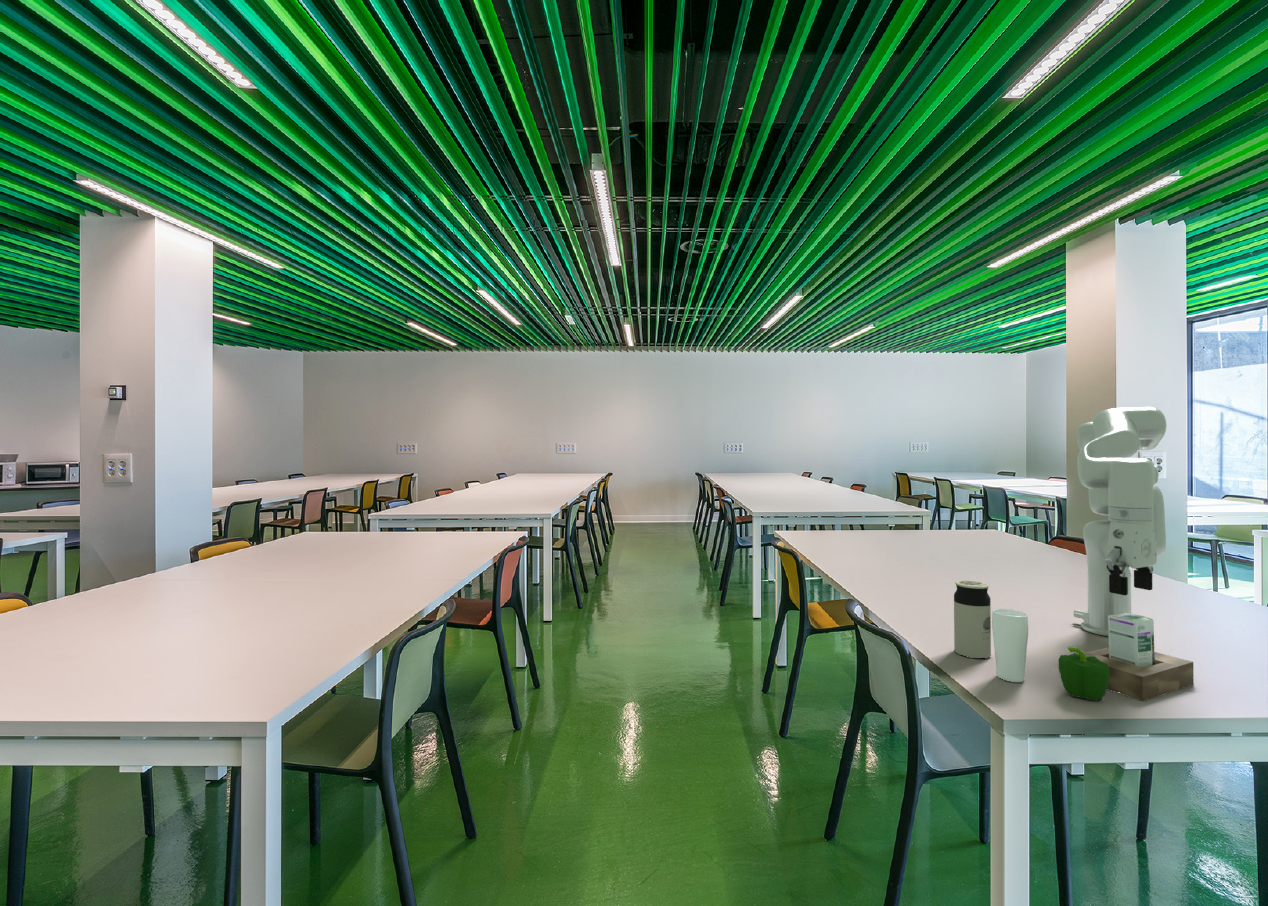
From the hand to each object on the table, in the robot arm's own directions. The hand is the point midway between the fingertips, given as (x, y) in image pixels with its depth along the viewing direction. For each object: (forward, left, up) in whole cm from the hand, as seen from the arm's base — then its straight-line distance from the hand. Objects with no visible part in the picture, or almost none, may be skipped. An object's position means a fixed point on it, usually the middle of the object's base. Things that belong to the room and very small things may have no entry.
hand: (1130, 591), depth 125 cm
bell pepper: (0, -18, -20) cm, 27 cm away
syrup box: (0, 0, -20) cm, 20 cm away
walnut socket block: (0, 0, -20) cm, 20 cm away
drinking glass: (-12, -23, -20) cm, 33 cm away
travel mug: (-26, -16, -20) cm, 37 cm away
